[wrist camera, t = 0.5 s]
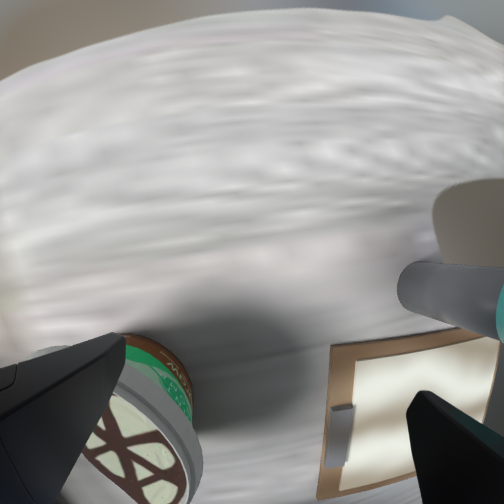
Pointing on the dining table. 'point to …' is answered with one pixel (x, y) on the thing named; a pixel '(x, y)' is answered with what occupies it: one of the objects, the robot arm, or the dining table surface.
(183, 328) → the dining table surface
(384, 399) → the clipboard
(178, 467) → the food container
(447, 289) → the marker
